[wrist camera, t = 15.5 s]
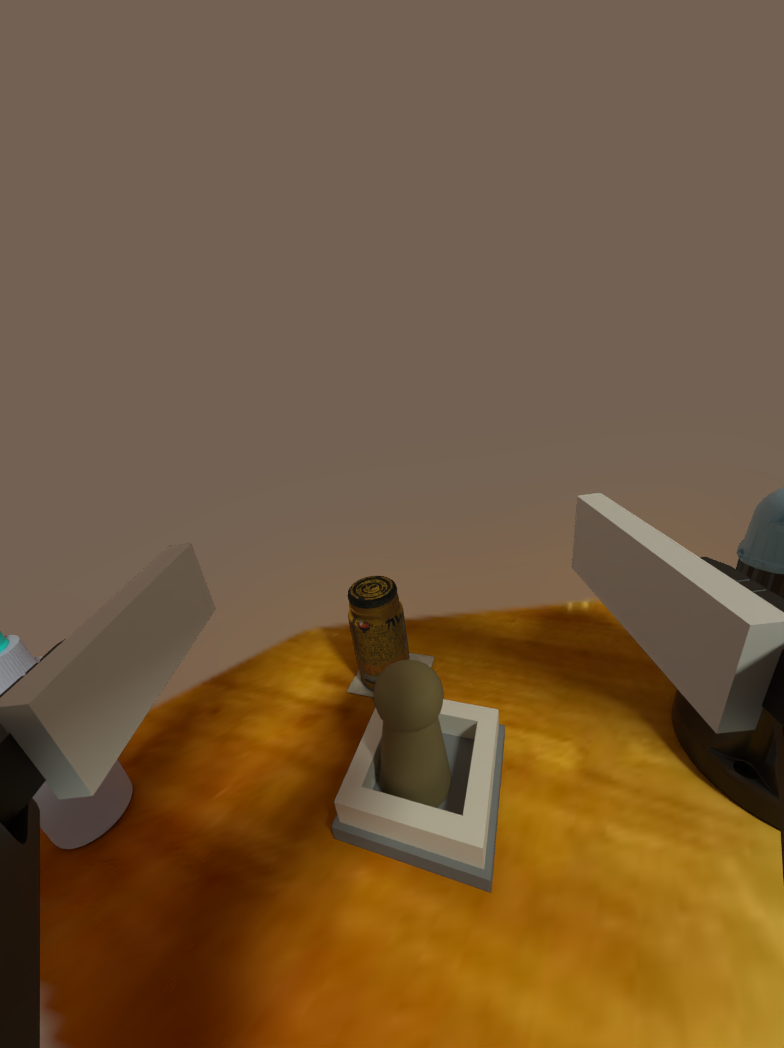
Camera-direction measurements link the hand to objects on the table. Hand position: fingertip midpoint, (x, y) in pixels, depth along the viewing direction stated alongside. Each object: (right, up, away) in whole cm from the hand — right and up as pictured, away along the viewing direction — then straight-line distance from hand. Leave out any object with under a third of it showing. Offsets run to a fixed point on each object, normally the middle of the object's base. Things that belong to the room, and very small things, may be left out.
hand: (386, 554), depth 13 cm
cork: (+2, -20, +19) cm, 28 cm away
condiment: (0, -17, +32) cm, 36 cm away
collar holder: (+3, -21, +20) cm, 30 cm away
